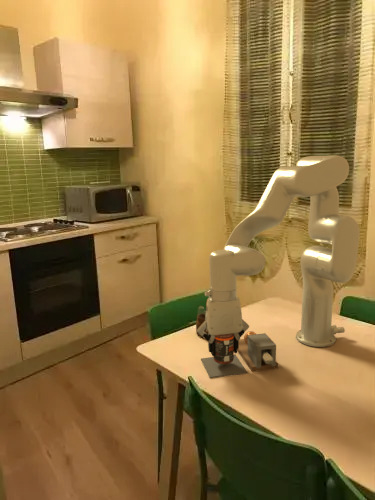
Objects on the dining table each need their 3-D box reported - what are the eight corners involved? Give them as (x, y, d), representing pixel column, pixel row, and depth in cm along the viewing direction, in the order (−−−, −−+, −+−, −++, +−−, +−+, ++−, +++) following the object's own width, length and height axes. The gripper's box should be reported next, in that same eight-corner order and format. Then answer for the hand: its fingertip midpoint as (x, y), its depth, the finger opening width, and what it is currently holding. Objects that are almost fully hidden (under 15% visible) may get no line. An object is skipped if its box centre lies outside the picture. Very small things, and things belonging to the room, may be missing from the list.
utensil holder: (192, 335, 137) (192, 303, 135) (202, 329, 142) (201, 297, 140) (207, 339, 134) (206, 306, 132) (216, 332, 139) (216, 300, 137)
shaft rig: (232, 344, 130) (232, 321, 128) (255, 341, 131) (255, 319, 130) (253, 373, 112) (253, 347, 110) (279, 370, 113) (280, 344, 112)
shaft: (243, 345, 124) (243, 332, 123) (256, 343, 125) (257, 330, 124) (261, 368, 110) (262, 354, 109) (276, 367, 110) (277, 352, 110)
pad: (235, 355, 123) (235, 354, 122) (247, 373, 112) (247, 372, 112) (200, 359, 120) (200, 358, 120) (209, 378, 110) (209, 376, 110)
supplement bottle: (232, 366, 112) (232, 329, 110) (212, 364, 114) (211, 327, 111) (234, 356, 118) (234, 320, 116) (214, 354, 119) (214, 319, 117)
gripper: (196, 301, 106) (197, 362, 110) (256, 295, 109) (256, 355, 113) (190, 292, 113) (192, 350, 117) (247, 287, 117) (247, 343, 121)
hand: (223, 352), depth 115 cm, fingers closed on supplement bottle, 6 cm apart
